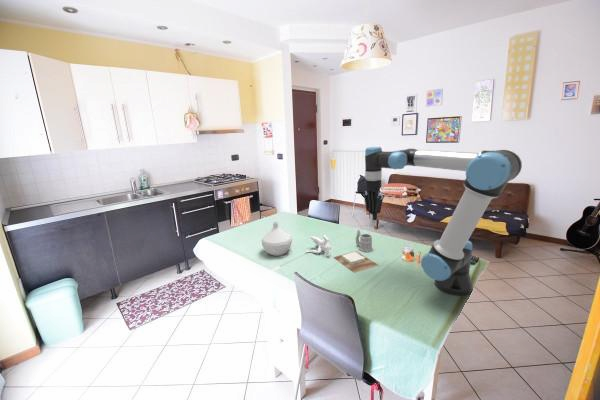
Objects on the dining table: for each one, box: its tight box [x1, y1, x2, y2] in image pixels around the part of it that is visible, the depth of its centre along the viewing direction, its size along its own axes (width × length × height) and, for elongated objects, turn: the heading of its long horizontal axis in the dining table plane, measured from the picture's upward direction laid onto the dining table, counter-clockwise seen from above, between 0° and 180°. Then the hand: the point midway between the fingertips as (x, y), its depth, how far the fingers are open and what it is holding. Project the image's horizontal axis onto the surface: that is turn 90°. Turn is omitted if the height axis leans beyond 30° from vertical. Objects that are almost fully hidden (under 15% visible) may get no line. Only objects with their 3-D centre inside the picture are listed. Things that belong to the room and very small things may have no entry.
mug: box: [355, 229, 373, 253], centre depth 166 cm, size 8×12×12 cm, turn 35°
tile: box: [341, 251, 365, 265], centre depth 153 cm, size 2×9×9 cm
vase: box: [261, 221, 293, 257], centre depth 168 cm, size 18×18×19 cm
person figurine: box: [304, 234, 332, 258], centre depth 166 cm, size 13×13×18 cm
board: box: [332, 250, 379, 274], centre depth 152 cm, size 20×16×1 cm
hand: (373, 225), depth 140 cm, fingers closed
